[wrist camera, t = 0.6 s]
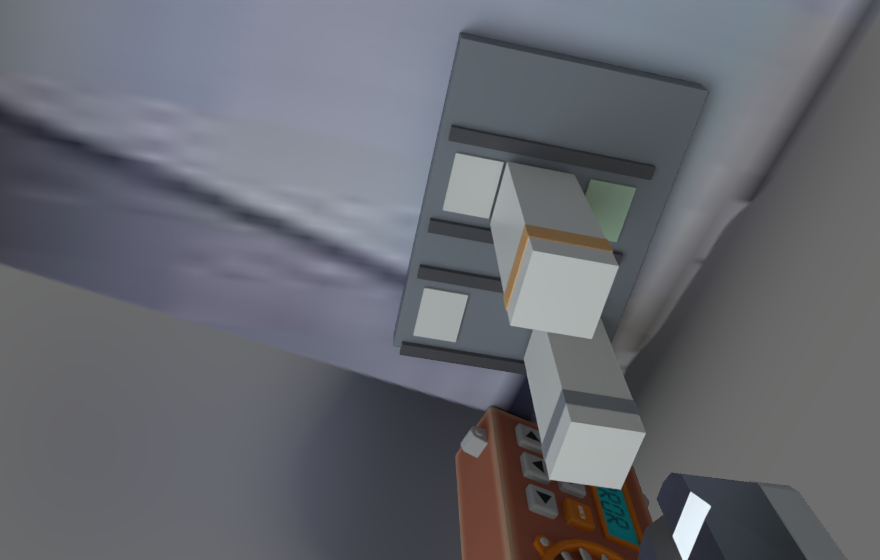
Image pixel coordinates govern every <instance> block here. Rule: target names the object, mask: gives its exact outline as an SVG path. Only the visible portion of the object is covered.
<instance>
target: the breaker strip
mask: <svg viewBox="0 0 880 560" xmlns="http://www.w3.org/2000/svg"><path fill="white" fill-rule="evenodd" d="M708 92H709V91H708V90H707V89H705V88H704V87H703V86H702V85H701V84H698V83H693V82H688V81H684V80H679V79H675V78H670V77H665V76H661V75H656V74H651V73H647V72H642V71H637V70H633V69H628V68H623V67H619V66H614V65H609V64H605V63H600V62H596V61H591V60H586V59H582V58H577V57H572V56H568V55H563V54H558V53H554V52H549V51H544V50H540V49H535V48H530V47H526V46H521V45H516V44H512V43H507V42H503V41H498V40H493V39H489V38H484V37H479V36H475V35H470V34H465V33H461V32H460V34H459V39H458V43H457V48H456V53H455V57H454V62H453V66H452V71H451V75H450V80H449V84H448V89H447V94H446V98H445V103H444V107H443V112H442V116H441V121H440V125H439V130H438V135H437V139H436V144H435V148H434V153H433V157H432V162H431V166H430V171H429V176H428V180H427V185H426V189H425V194H424V198H423V203H422V207H421V212H420V217H419V221H418V226H417V230H416V235H415V239H414V244H413V248H412V253H411V258H410V262H409V267H408V271H407V276H406V280H405V285H404V289H403V294H402V299H401V303H400V308H399V312H398V317H397V321H396V326H395V330H394V341H393V346H395V347H401V349H400V355H405V356H412V357H418V358H424V359H431V360H437V361H443V362H450V363H456V364H462V365H468V366H475V367H481V368H487V369H494V370H500V371H506V372H513V373H519V374H525V375H527V377H528V381H529V386H530V391H531V396H532V400H533V405H534V410H535V414H536V419H537V424H538V429H539V433H540V438H541V443H542V445H541V449H542V453H543V458H544V462H546V467H547V471H548V476H549V480H556V481H563V482H570V483H578V484H585V485H592V486H599V487H606V488H613V489H620V490H621V488H622V486H623V484H624V481H625V479H626V477H627V475H628V472H629V470H630V468H631V466H632V463H633V461H634V459H635V456H636V454H637V452H638V450H639V448H640V445H641V443H642V441H643V438H644V436H645V434H646V432H645V429H644V427H643V424H642V422H641V419H640V417H639V416H640V413H639V411H638V408H637V405H636V403H635V401H634V400H633V399H632V397H631V394H630V391H629V389H628V386H627V384H626V381H625V378H624V376H623V373H622V371H621V368H620V366H619V363H618V361H617V358H616V355H615V353H614V350H613V348H612V345H611V342H612V340H613V337H614V335H615V332H616V329H617V327H618V324H619V322H620V319H621V317H622V314H623V311H624V309H625V306H626V304H627V301H628V299H629V296H630V293H631V291H632V288H633V286H634V283H635V280H636V278H637V275H638V273H639V270H640V268H641V265H642V262H643V260H644V257H645V255H646V252H647V250H648V247H649V244H650V242H651V239H652V237H653V234H654V231H655V229H656V226H657V224H658V221H659V219H660V216H661V213H662V211H663V208H664V206H665V203H666V201H667V198H668V195H669V193H670V190H671V188H672V185H673V182H674V180H675V177H676V175H677V172H678V170H679V167H680V164H681V162H682V159H683V157H684V154H685V152H686V149H687V146H688V144H689V141H690V139H691V136H692V133H693V131H694V128H695V126H696V123H697V121H698V118H699V115H700V113H701V110H702V108H703V105H704V103H705V100H706V97H707V95H708ZM507 162H512V163H518V164H523V165H528V166H533V167H538V168H543V169H548V170H554V171H559V172H564V173H569V174H574V175H575V177H576V179H577V181H578V183H579V185H580V187H581V189H582V191H583V193H584V195H585V197H586V199H587V201H588V203H589V205H590V207H591V209H592V212H593V214H594V216H595V218H596V220H597V222H598V224H599V226H600V228H601V230H602V232H603V234H604V236H605V238H606V239H608V241H609V243H610V245H611V247H612V249H613V255H614V257H615V259H616V261H617V263H618V265H619V268H618V270H617V273H616V276H615V278H614V281H613V284H612V286H611V289H610V292H609V294H608V297H607V300H606V302H605V305H604V308H603V311H602V313H601V316H600V319H599V321H598V324H597V327H596V329H595V332H594V335H593V337H592V339H588V338H582V337H576V336H570V335H564V334H558V333H552V332H546V331H540V330H534V329H528V328H522V327H516V326H510V323H509V318H508V312H507V311H506V309H505V304H504V299H503V297H504V292H503V287H502V282H501V277H500V272H499V267H498V262H497V257H496V252H495V247H494V241H493V236H492V231H491V226H490V223H491V219H492V215H493V212H494V208H495V204H496V201H497V197H498V193H499V189H500V186H501V182H502V178H503V175H504V171H505V167H506V164H507Z"/></svg>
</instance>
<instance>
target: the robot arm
mask: <svg viewBox="0 0 880 560" xmlns="http://www.w3.org/2000/svg"><path fill="white" fill-rule="evenodd" d="M657 501H658V503H659V506H660V508H661V510H662V513H663V516H661V517H660V518H659V519H658V520H656V521H655V522H653V523H652V524H651V525H649V526H648V527H646V530H645V533H644V536H643V539H642V542H641V545H640V548H639V556H638V560H847V558H846V557H845V555H844V554H843V553H842V551H841V550H840V548H839V547H838V546H837V544H836V543H835V542H834V540H833V539H832V537H831V536H830V534H829V533H828V532H827V530H826V529H825V527H824V526H823V525H822V523H821V522H820V520H819V519H818V518H817V517H816V515H815V514H814V512H813V511H812V509H811V508H810V506H809V505H808V504H807V502H806V501H805V499H804V498H803V497H802V495H801V494H800V493H799V492H798V491H797V490H795V489H793V488H791V487H790V486H788V485H778V484H769V483H759V482H742V481H735V480H727V479H718V478H711V477H702V476H694V475H686V474H677V473H671V474H670V475H669V476H668V477H667V478H666V480H665V481H664V482H663V484H662V487H661V489H660V492H659V495H658V497H657Z"/></svg>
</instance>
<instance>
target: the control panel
mask: <svg viewBox="0 0 880 560" xmlns="http://www.w3.org/2000/svg"><path fill="white" fill-rule="evenodd" d="M541 445H542V443H541V438H540V433H539V429H538V425H536V424H534V423H532V422H529V421H527V420H524V419H522V418H519V417H517V416H515V415H512V414H510V413H507V412H505V411H502V410H500V409H498V408H495V407H489V409H488V410H487V411H486V413H485V414H484V416H483V417H482V418H481V420H480V421H479V423H478V424H477V426H476V427H475V426H472V428H471V429H470V430H469V432H468V433H467V435H466V436H465V438H464V439H463V440H462V442H461V448H460V450H459V451H458V453H457V454H456V472H457V486H458V502H459V518H460V531H461V532H460V533H461V549H462V560H638V556H639V548H640V545H641V542H642V539H643V536H644V533H645V530H646V527H648V526H649V525H651V524H652V523H653V522H652V519H651V516H650V513H649V510H648V505H649V501H648V499H647V498H646V496H645V495H644V494H643V493H642V490H641V487H640V485H639V482H638V479H637V476H636V473H635V470H634V468H633V465H632V466H631V468H630V470H629V472H628V475H627V477H626V479H625V481H624V484H623V486H622V488H621V490H620V489H613V488H606V487H599V486H592V485H585V484H578V483H570V482H563V481H556V480H549V476H548V471H547V467H546V462H544V458H543V453H542V449H541Z"/></svg>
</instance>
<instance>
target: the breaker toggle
mask: <svg viewBox="0 0 880 560" xmlns="http://www.w3.org/2000/svg"><path fill="white" fill-rule="evenodd" d="M490 226H491V231H492V236H493V241H494V247H495V252H496V257H497V262H498V267H499V272H500V277H501V282H502V287H503V292H504V297H503V299H504V304H505V309H506V311H507V312H508V318H509V323H510V326H516V327H522V328H528V329H534V330H540V331H546V332H552V333H558V334H564V335H570V336H576V337H582V338H588V339H592V337H593V335H594V332H595V329H596V327H597V324H598V321H599V319H600V316H601V313H602V311H603V308H604V305H605V302H606V300H607V297H608V294H609V292H610V289H611V286H612V284H613V281H614V278H615V276H616V273H617V270H618V268H619V265H618V263H617V261H616V259H615V257H614V255H613V249H612V247H611V245H610V243H609V241H608V239H606V238H605V236H604V234H603V232H602V230H601V228H600V226H599V224H598V222H597V220H596V218H595V216H594V214H593V212H592V209H591V207H590V205H589V203H588V201H587V199H586V197H585V195H584V193H583V191H582V189H581V187H580V185H579V183H578V181H577V179H576V177H575V175H574V174H569V173H564V172H559V171H554V170H548V169H543V168H538V167H533V166H528V165H523V164H518V163H512V162H507V164H506V167H505V171H504V175H503V178H502V182H501V186H500V189H499V193H498V197H497V201H496V204H495V208H494V212H493V215H492V219H491V223H490Z"/></svg>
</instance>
